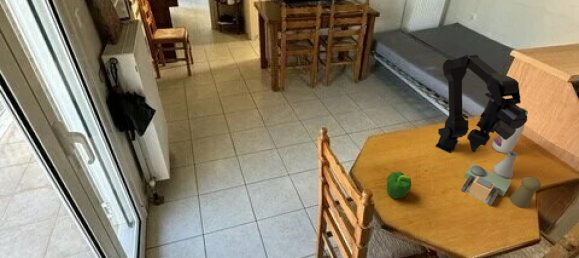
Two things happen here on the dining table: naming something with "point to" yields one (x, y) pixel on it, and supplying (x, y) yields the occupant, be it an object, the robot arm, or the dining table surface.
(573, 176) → the dining table surface
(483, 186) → the tan and grey block
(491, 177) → the sage green knobbed slab
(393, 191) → the bell pepper
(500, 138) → the milk bottle
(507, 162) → the flask
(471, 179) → the bracket
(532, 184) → the olive pepper mill
